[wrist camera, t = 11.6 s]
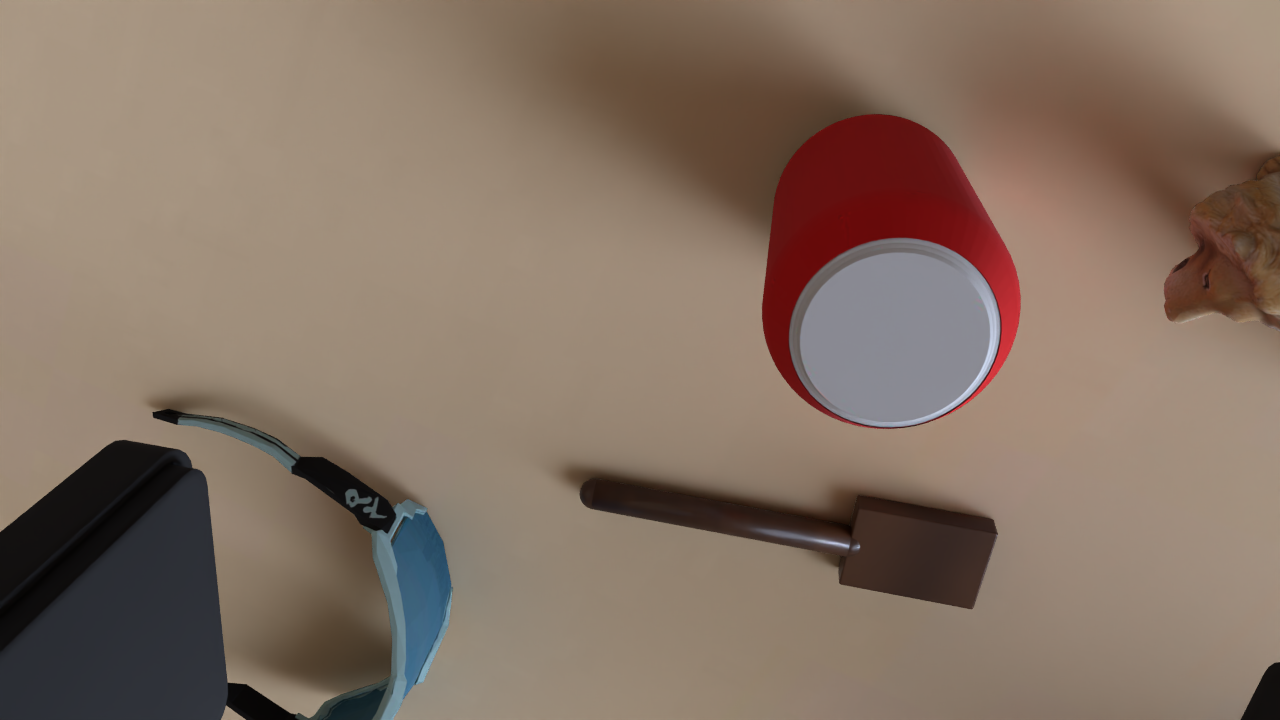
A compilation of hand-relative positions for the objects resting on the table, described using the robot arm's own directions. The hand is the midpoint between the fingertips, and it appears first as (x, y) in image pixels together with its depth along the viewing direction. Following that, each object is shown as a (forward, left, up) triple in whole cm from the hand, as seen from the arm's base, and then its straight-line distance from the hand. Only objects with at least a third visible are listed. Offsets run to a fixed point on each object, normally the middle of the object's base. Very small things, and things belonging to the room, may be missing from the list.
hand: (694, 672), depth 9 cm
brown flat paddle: (+16, +4, -27) cm, 31 cm away
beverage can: (+3, +4, -27) cm, 27 cm away
